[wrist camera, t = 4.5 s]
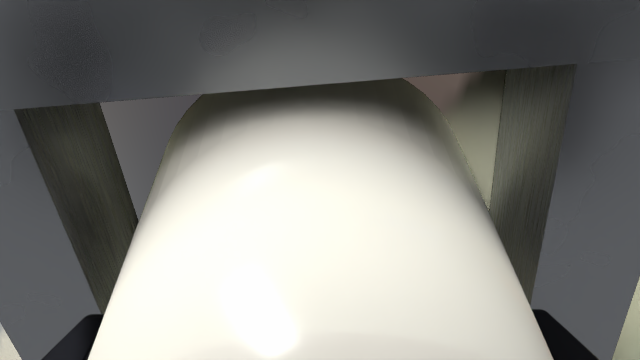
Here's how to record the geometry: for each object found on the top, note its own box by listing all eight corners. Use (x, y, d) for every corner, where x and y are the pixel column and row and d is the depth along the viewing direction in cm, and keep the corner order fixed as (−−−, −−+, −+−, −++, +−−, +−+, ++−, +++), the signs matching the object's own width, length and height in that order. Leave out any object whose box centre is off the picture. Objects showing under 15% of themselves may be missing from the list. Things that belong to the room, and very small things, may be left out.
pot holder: (551, 301, 16) (598, 398, 13) (102, 333, 16) (66, 434, 13) (647, -127, 10) (765, -98, 7) (-73, -65, 10) (-197, -15, 7)
